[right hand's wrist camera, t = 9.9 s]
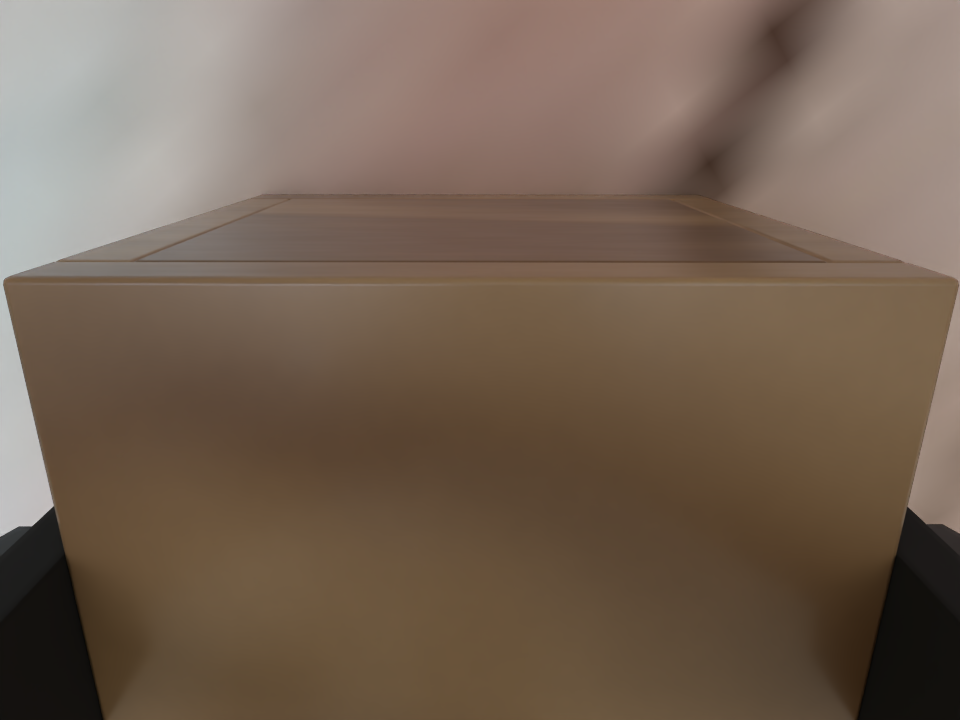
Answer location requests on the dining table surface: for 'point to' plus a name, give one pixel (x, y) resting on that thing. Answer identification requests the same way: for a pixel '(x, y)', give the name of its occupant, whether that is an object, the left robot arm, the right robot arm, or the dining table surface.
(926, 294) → the wooden recessed-top box
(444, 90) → the dining table surface
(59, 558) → the right robot arm
